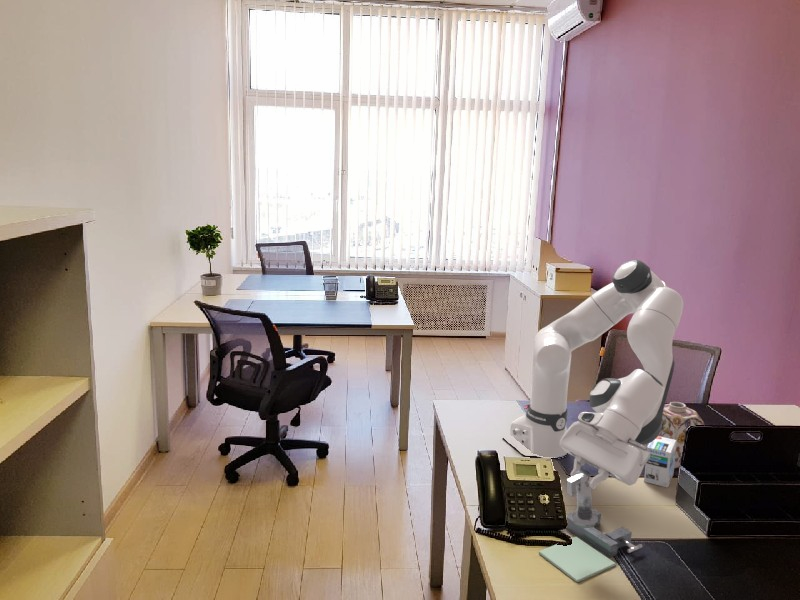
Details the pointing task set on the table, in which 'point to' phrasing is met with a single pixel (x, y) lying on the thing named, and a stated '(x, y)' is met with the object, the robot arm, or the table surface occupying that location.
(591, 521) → the grey tall rounded piece
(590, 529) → the vise
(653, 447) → the light bulb box
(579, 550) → the mat
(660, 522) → the table surface
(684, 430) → the decorative jar
